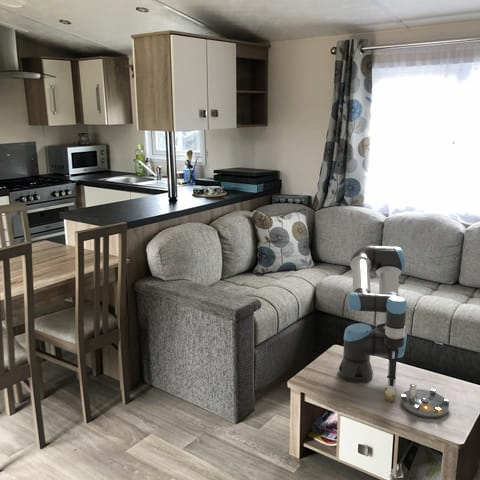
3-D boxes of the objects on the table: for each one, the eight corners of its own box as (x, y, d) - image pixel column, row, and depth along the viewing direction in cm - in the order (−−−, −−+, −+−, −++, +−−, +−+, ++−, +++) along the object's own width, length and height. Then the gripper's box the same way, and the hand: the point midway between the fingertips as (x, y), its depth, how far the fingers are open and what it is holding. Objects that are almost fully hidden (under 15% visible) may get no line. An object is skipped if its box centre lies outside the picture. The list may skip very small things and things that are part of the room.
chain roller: (382, 400, 207) (383, 389, 206) (387, 396, 210) (388, 385, 209) (391, 403, 204) (392, 392, 203) (396, 400, 207) (397, 389, 206)
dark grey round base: (419, 422, 192) (421, 398, 189) (391, 397, 209) (393, 375, 206) (458, 414, 197) (461, 391, 194) (428, 390, 214) (430, 369, 211)
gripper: (385, 322, 213) (382, 368, 218) (384, 347, 190) (380, 398, 194) (403, 324, 211) (400, 371, 216) (404, 349, 188) (400, 401, 192)
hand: (390, 384), depth 205 cm, fingers open, 13 cm apart
